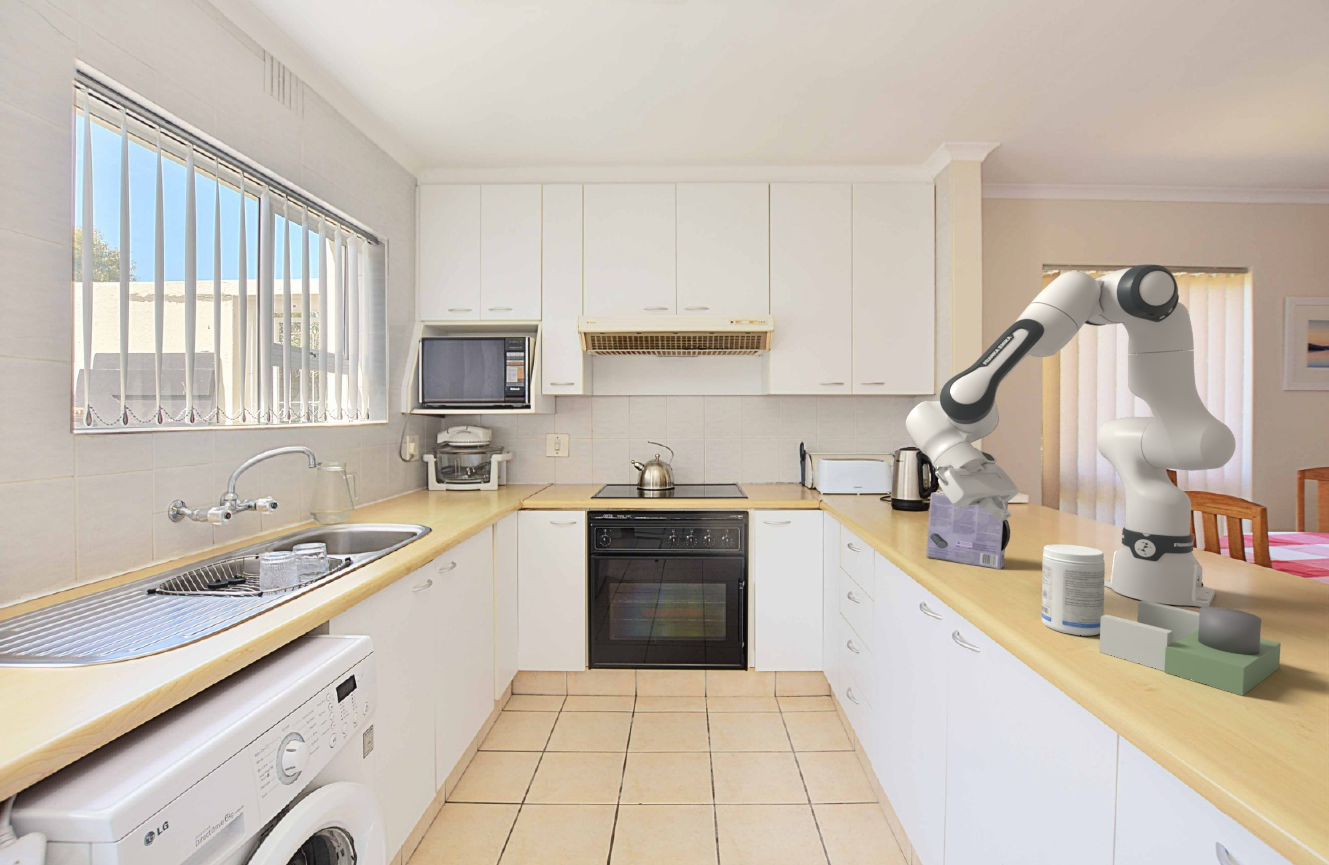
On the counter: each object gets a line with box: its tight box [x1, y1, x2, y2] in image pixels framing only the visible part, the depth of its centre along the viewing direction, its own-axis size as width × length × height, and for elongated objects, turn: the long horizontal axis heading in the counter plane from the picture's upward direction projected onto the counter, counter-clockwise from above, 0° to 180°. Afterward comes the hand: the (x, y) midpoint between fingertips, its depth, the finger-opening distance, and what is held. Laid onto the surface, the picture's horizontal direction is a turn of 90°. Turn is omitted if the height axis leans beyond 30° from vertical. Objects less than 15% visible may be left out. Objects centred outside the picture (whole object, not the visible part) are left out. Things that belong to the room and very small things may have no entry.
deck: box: [1098, 600, 1282, 697], centre depth 100 cm, size 18×18×9 cm
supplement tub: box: [1041, 543, 1106, 637], centre depth 114 cm, size 10×10×15 cm
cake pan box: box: [925, 491, 1011, 570], centre depth 162 cm, size 19×5×18 cm, turn 51°
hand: (1005, 518), depth 124 cm, fingers closed
